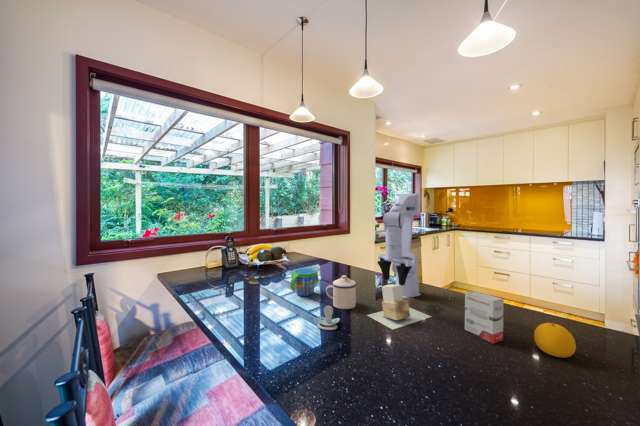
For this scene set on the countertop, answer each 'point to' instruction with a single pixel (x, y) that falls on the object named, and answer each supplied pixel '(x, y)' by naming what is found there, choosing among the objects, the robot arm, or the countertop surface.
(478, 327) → the ink box
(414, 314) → the plate
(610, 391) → the countertop surface
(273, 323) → the countertop surface
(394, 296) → the cream block
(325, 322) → the pacifier
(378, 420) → the countertop surface
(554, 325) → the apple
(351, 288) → the teacup with lid
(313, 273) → the snack cup
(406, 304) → the oak block
